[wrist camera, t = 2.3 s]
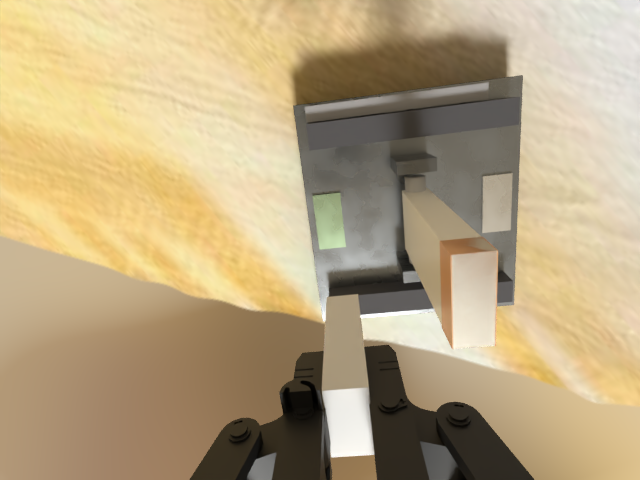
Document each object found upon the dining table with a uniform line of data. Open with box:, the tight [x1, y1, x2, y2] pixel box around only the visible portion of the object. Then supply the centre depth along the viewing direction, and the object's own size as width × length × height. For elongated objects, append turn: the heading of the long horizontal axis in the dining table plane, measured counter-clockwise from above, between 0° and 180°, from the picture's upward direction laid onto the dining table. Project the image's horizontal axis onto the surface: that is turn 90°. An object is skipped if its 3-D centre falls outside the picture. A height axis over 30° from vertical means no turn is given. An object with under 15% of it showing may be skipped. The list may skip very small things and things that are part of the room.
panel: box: [293, 75, 523, 321], centre depth 34 cm, size 20×18×6 cm
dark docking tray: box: [305, 82, 520, 315], centre depth 33 cm, size 18×16×2 cm
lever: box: [402, 174, 498, 349], centre depth 25 cm, size 7×2×15 cm, turn 7°
